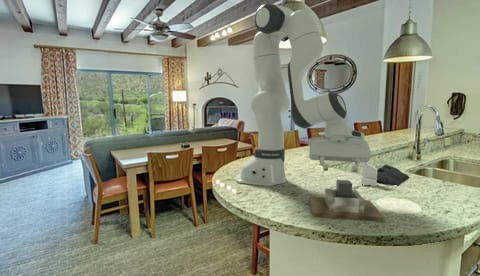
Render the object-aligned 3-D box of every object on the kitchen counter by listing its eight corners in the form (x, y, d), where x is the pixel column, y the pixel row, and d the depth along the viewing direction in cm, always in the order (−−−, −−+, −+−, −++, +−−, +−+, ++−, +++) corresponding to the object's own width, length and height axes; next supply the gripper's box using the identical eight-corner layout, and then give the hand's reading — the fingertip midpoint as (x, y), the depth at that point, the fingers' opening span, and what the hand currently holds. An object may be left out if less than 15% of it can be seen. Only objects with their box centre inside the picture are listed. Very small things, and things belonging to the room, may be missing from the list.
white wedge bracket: (350, 175, 119) (362, 159, 116) (372, 189, 116) (385, 173, 113) (350, 177, 116) (362, 161, 113) (371, 192, 113) (385, 176, 110)
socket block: (312, 216, 83) (313, 199, 82) (309, 200, 97) (309, 185, 96) (383, 221, 80) (384, 204, 79) (369, 203, 93) (370, 188, 93)
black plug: (337, 208, 87) (338, 183, 85) (335, 203, 90) (336, 179, 89) (350, 208, 86) (352, 184, 85) (348, 204, 90) (349, 180, 89)
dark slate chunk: (360, 181, 122) (360, 170, 121) (375, 171, 138) (376, 162, 137) (398, 188, 112) (399, 176, 111) (410, 177, 128) (411, 167, 127)
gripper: (308, 131, 99) (309, 164, 90) (368, 133, 95) (375, 167, 87) (307, 141, 104) (307, 173, 95) (364, 144, 100) (369, 177, 92)
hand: (340, 170), depth 91 cm, fingers open, 8 cm apart
